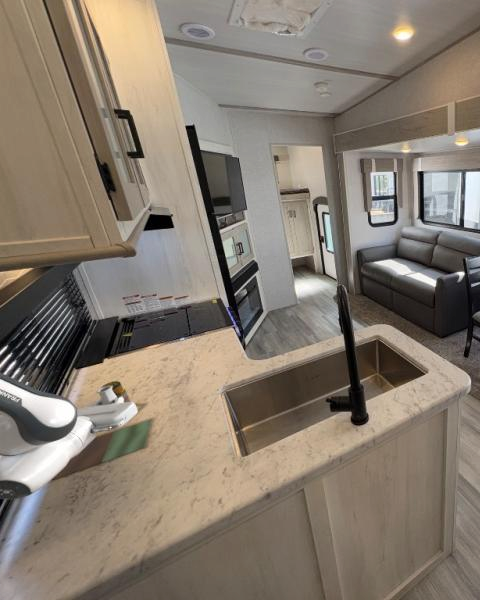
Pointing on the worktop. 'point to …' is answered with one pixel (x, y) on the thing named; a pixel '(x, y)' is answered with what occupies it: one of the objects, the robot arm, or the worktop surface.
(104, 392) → the flask
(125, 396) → the condiment
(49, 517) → the worktop surface
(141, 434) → the sorting board
